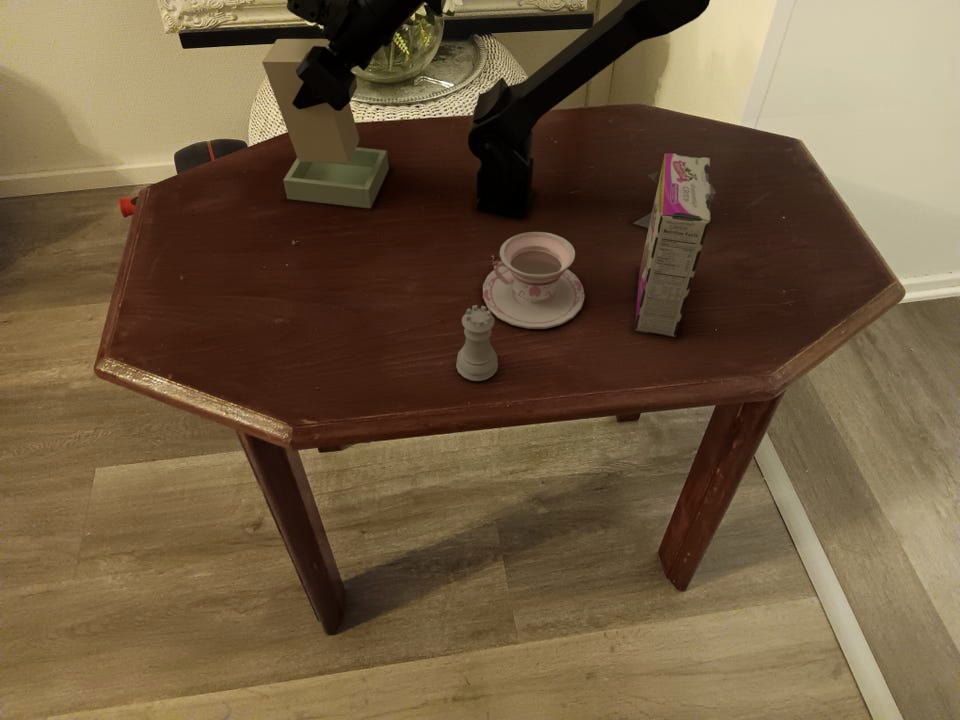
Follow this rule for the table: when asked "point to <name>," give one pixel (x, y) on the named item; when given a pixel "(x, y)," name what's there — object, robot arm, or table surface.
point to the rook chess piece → (477, 346)
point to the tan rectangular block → (314, 127)
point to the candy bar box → (673, 243)
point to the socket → (339, 179)
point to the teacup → (534, 282)
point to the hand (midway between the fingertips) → (302, 94)
